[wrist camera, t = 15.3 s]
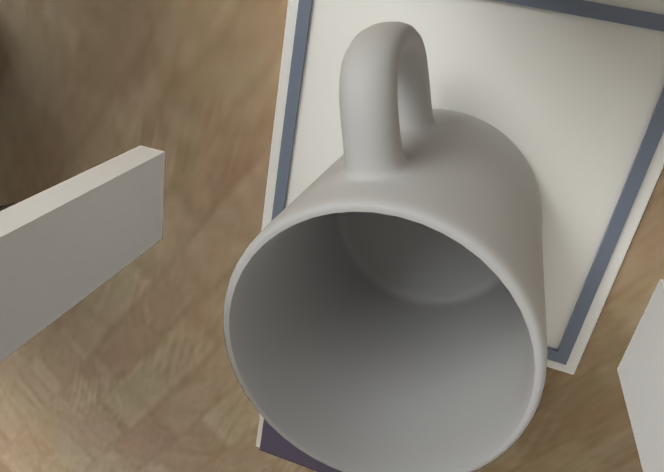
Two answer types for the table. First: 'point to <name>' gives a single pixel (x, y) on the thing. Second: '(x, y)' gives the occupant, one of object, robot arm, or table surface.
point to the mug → (398, 283)
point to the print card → (508, 119)
